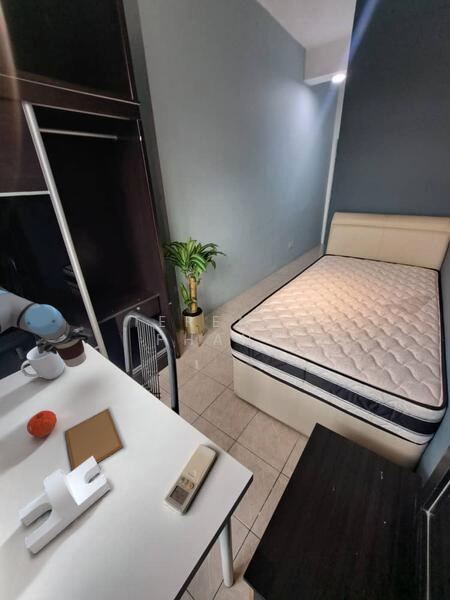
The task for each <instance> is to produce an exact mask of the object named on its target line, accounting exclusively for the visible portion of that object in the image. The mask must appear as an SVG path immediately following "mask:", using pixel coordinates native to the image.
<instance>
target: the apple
mask: <svg viewBox="0 0 450 600" xmlns="http://www.w3.org/2000/svg"><path fill="white" fill-rule="evenodd" d="M57 422H58V417H57V415H56V413H55V412H53V411H52V410H41V411H39V412H37V413H36V414H34V415H33V416H32V417H31V418H30V419H29V420H28V422H27V425H26V430H27V433H28V434H29V435H30V436H33V437H38V438H39V437H45V436H47V435H49V434H50V433H51V432H52V431H53V430H54V429H55V427H56V424H57Z"/></svg>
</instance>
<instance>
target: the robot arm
mask: <svg viewBox="0 0 450 600" xmlns="http://www.w3.org/2000/svg"><path fill="white" fill-rule="evenodd" d="M69 325H70V324H69V323H68V321H66V319H65V318H64V316H63V315H62V313H61V312H60V311H59V310H58V309H57V308H55V307H54V306H53V305H49V304H44V303H43V304H39V303H36V302H33V301H31V300H28V299H27V298H23V297H21V296H18V295H16V294H15V293H13V292H8V291H4V290H2V289H0V334H2V333H3V332H4V331H6V330H8V329H9V328H10V327H14V328H18V329H21V330H24V331H27V332H29V333H32V334H35V335H37V336H39V337H40V338H36V339H35V343H36V347H37V348H38V351H39V354H42V353H43V351H46V352H52V353H54V354H57V351H56V349H55V348H54V346H56V345H62V344H65V343H66V342H68V341H69V340H74V339H82V342H83V343H84V344H88V341H89V339H90V337H91V338H92V337H93V336H94V334H93V331H92V329H91V328H88V327H85V326H83V325H82V324H80V325H78V326H77V327H78V328H77V329H75V330H74V329H72V328H71V327H70V326H69Z"/></svg>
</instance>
